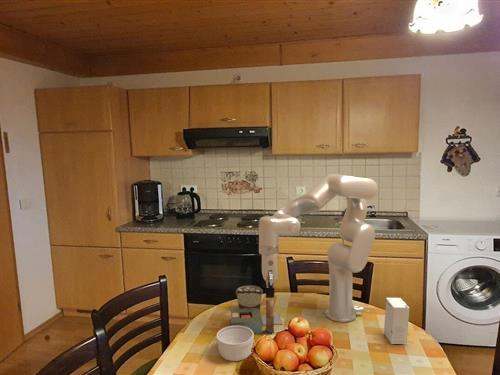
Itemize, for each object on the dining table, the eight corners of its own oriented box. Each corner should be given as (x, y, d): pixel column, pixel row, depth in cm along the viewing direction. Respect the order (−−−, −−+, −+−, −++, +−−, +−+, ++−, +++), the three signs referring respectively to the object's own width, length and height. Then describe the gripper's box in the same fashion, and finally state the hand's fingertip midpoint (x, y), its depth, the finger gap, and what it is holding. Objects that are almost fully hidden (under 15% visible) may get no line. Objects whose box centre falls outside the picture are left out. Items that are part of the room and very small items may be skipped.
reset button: (250, 318, 147) (250, 314, 147) (251, 322, 143) (250, 319, 143) (241, 318, 146) (240, 315, 146) (241, 323, 143) (241, 319, 143)
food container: (264, 306, 164) (263, 285, 162) (263, 312, 157) (263, 290, 156) (237, 305, 165) (237, 284, 164) (235, 311, 159) (235, 290, 158)
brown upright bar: (273, 330, 141) (272, 299, 140) (274, 334, 138) (274, 302, 137) (265, 331, 141) (265, 299, 140) (266, 335, 138) (266, 303, 137)
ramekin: (212, 347, 130) (211, 329, 130) (245, 339, 135) (245, 322, 135) (224, 367, 118) (223, 347, 117) (260, 358, 123) (259, 338, 123)
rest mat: (279, 315, 154) (279, 314, 154) (282, 324, 146) (282, 323, 146) (260, 316, 153) (260, 315, 153) (263, 325, 146) (263, 324, 145)
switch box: (259, 318, 151) (259, 307, 151) (262, 333, 140) (262, 320, 139) (230, 320, 150) (230, 308, 150) (231, 335, 139) (231, 322, 138)
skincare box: (383, 333, 138) (384, 296, 136) (399, 333, 138) (400, 296, 136) (391, 345, 129) (393, 306, 128) (408, 345, 129) (410, 306, 128)
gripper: (282, 255, 128) (281, 301, 129) (275, 243, 145) (274, 283, 147) (261, 255, 127) (261, 302, 129) (256, 243, 144) (256, 284, 146)
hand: (268, 292), depth 138 cm, fingers open, 9 cm apart
